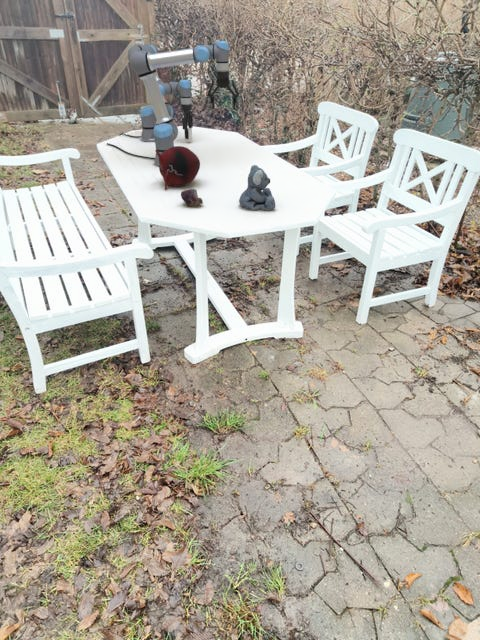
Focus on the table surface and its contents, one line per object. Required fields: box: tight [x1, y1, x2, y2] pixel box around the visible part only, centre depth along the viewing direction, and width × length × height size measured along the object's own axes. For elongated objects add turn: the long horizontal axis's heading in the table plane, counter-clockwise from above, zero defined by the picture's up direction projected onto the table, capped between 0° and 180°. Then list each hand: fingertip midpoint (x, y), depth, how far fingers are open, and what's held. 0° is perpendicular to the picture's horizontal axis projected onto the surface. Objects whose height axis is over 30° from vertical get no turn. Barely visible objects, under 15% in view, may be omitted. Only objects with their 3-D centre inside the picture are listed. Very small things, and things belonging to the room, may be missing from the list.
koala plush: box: [238, 164, 276, 211], centre depth 224 cm, size 17×18×20 cm
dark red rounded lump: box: [155, 145, 201, 191], centre depth 255 cm, size 21×24×25 cm
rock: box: [180, 188, 204, 207], centre depth 229 cm, size 12×9×10 cm
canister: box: [184, 128, 193, 143], centre depth 338 cm, size 5×5×9 cm
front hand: (223, 108), depth 286 cm, fingers open, 13 cm apart
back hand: (188, 137), depth 339 cm, fingers closed on canister, 5 cm apart
